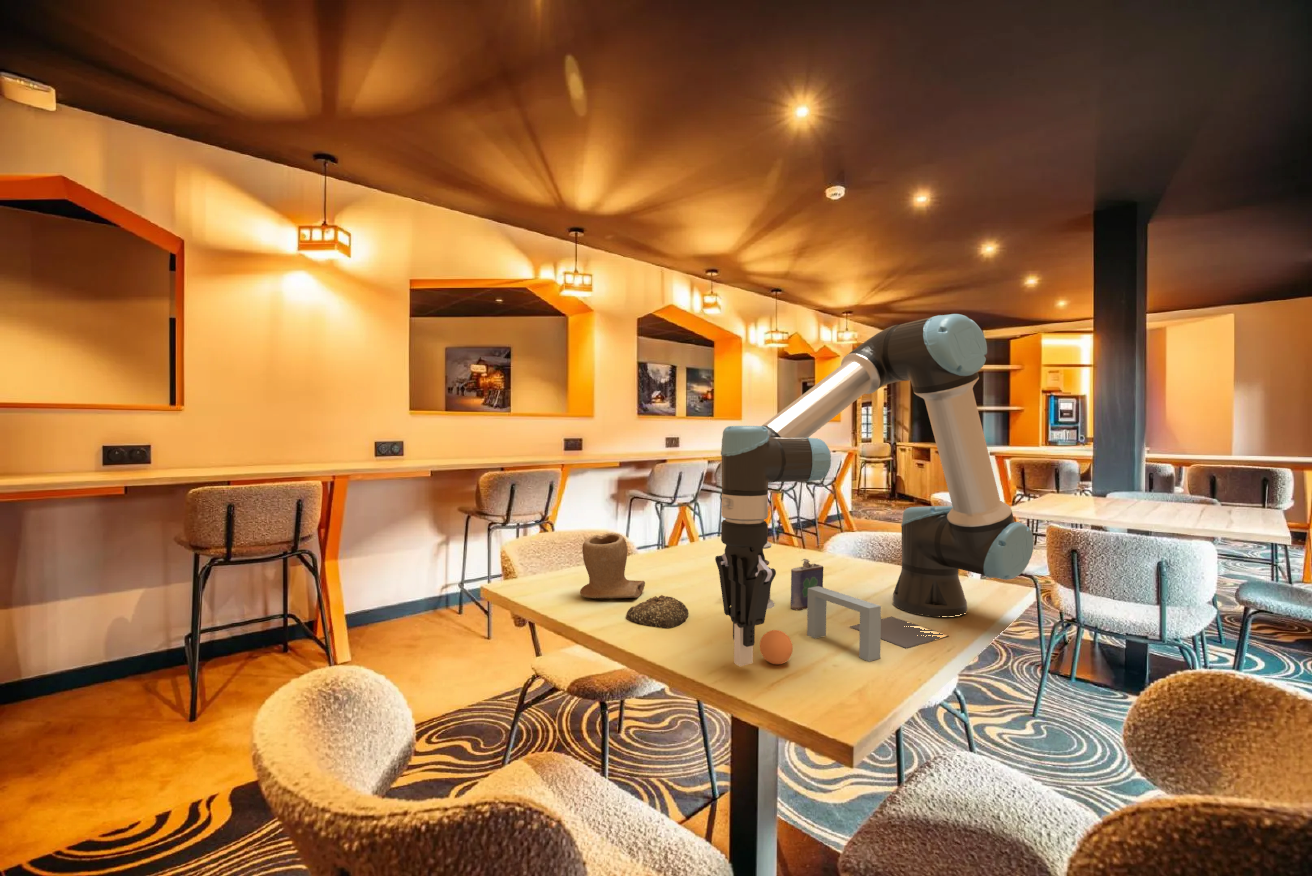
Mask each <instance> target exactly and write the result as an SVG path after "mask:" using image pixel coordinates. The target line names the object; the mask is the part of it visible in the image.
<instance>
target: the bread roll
mask: <svg viewBox="0 0 1312 876" xmlns="http://www.w3.org/2000/svg"><path fill="white" fill-rule="evenodd" d="M689 615H690V613H689V609H688V608H687V606H686V604H684V603H683V602H682V601H681V600H679V599H677V598H675V597H673V596H668V595H667V596H666V595H663V594H661V595H659V596H658V597H657V596H656V595H655V596H653V597H650V598H648V599H647V600H645V601H642V602H639V603H638V604H636V605H634V606H631V607H630V608H629V609H628V610H627V612H626V614H625V618H626V620H628V619H629V621H630V620H631V621H630V622H633V623H636V624H639V623H640V625H643V624H644V625H643V626H648V627H655V626H657V627H656V628H660V627H662V629H671V627H672V628H674V627H677V626H681V625H682V624H683V623H685V622H686V620H687V619H688V617H689Z"/></svg>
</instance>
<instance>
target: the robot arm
mask: <svg viewBox="0 0 1312 876" xmlns="http://www.w3.org/2000/svg"><path fill="white" fill-rule="evenodd" d="M987 354H988V345H987V340H986V338H985V335H984V332H983V330H982V329H981V327H980V326H979V325H978V324H977V323H976V322H975V321H974V320H973V319H971V318H969V317H968V316H967V315H963V314H960V313H951V314H949V313H948V314H944V315H943V314H942V315H941V314H938V315H935V316H931V317H927V318H922V319H917V320H914V321H909V322H905V323H899V324H895V325H891V326H889V327H887V328H884V329H883V330H881V331H879V332H878V333H876V334H875V335H873V336H871V337H870V338H868V339H867V340H865V341H864V342H863V343H861V344H859V346H857V347H856V348H855V349H852V351H850V352H849V353H848V354H846V355H845V356H844V357H843V358H842V360H841V363H840V366H838V367H837V368H836V369H835V370H833V371H832V372H831V373H829V374H828V375H827V376H825V377H824V378H823V379H821V380H820V381H819V382H818V383H816V384H814V386H812V387H811V388H809V389H808V390H806V392H804V393H803V394H801V395H800V396H799V397H798V398H797V399H795V400H794V401H792V402H791V403H790V404H788V405H787V406H786V407H784V408H783V409H781V410H780V411H779V412H778V413H777V414H775V415H774V416H772V417H771V418H770V419H769V420H767V421H766V422H764V424H762V425H729V426H726V427H725V428H724V429H723V430H722V437H721V438H722V439H721V448H720V449H721V450H720V455H721V517H722V518H724V519H722V521H721V523H720V525H721V526H720V540H721V542H722V544H724V545H725V547H724V553H723V554H722V555H717V556H716V555H715V559H714V560H715V564H716V565H717V570H718V574H719V582H720V583H719V584H720V589H721V597H722V605H723V613H724V615H725V616H729V617H730V621H731V622H732V640H733V641H734V642H733V647H734V648H733V663H734V664H735V665H736V666H739V667H745V666H747V665H750V664H754V661H753V660H754V645H755V643H756V642H755V635H756V634H755V633H756V632H755V631H756V629H755V628H756V626H759V625H764V624H765V622H766V621H765V620H766V615H767V610H768V609H767V605H768V599H769V594H770V595H771V589H772V588H771V586H772V583H773V581H774V579H775V577H776V575H777V572H776V571H777V570H776V569H775V568H772V567H771V568H770V567H769V566H768V565H766V564H765V563H764V562H765V560H766V557H765V554H764V549H763V547H764V545H766V544H767V541H768V542H769V540H768V535H769V534H768V533H769V532H768V531H769V530H768V528H769V527H768V526H769V524H768V522H767V521H766V520H767V519H768V517H769V483H772V484H773V483H784V482H785V483H787V482H789V483H791V482H793V483H794V482H795V483H796V482H804V483H809V482H814V481H821V480H822V479H824V478H825V477H826V476H827V475H828V473H829V471H830V469H831V465H832V463H831V461H832V459H831V457H832V455H831V450H830V448H829V446H828V444H827V443H826V442H825V441H824V440H822V439H820V438H815V437H811V436H813V435H814V434H815V433H816V432H817V431H818V430H820V429H821V428H822V427H824V426H825V425H826V424H828V423H829V422H830V421H832V420H833V419H834V418H835V417H837V416H838V415H839V414H840V413H841V412H843V411H844V410H846V409H847V408H848V407H849V406H851V405H852V404H853V403H854V402H855V401H857V400H858V399H859V398H860V397H862V396H863V395H866V394H867V395H869V394H870V395H871V394H874V393H875V392H876V391H878V390H879V389H880V388H881V387H884V386H886V385H890V384H893V383H898V382H903V381H904V382H906V381H908V382H909V381H910V382H911V387H912V390H913V391H912V392H913V393H914V394H915V395H916V396H917V397H919V398H921V399H923V400H924V403H925V406H926V411H927V414H928V418H929V422H930V425H931V430H932V433H933V436H934V441H935V444H936V449H937V453H938V455H939V461H940V464H941V467H942V471H943V475H944V476H943V477H944V480H945V483H946V487H947V491H948V494H949V498H950V503H951V505H931V506H930V505H929V506H910V507H907V508H906V509H904V510H903V513H902V520H901V521H902V522H901V525H900V526H901V569H900V570H901V571H900V575H899V576H898V580H897V582H896V584H895V587H894V590H893V594H892V604H893V605H894V606H895V607H896V608H898V609H900V610H902V611H904V610H905V612H907V613H911V614H914V615H919V614H923V615H922V616H924V615H929V616H928V617H931V616H940V617H939V618H943V617H942V616H955V615H960V614H964V613H966V611H967V612H968V602H967V599H966V597H965V593H964V590H963V587H962V583H961V580H960V576H959V570H962V571H965V572H970V573H973V574H978V575H981V576H985V577H986V578H990V579H993V578H994V579H999V580H1003V581H1004V580H1005V581H1008V580H1013V579H1015V578H1017V577H1018V576H1020V575H1021V574H1022V573H1023V572H1024V571H1025V570H1026V568H1027V567H1028V565H1029V563H1030V560H1031V559H1032V556H1033V552H1034V535H1033V531H1032V530H1031V528H1030V527H1029V526H1027V525H1026V524H1024V523H1023V522H1021V521H1020V522H1019V521H1015V518H1014V514H1013V510H1012V507H1011V506H1010V505H1009V504H1007V502H1004V501H1002V500H1001V499H1000V495H999V491H998V485H997V482H996V481H997V480H996V477H995V473H994V471H993V465H992V462H991V458H990V454H989V450H988V447H987V446H988V445H987V442H986V439H985V433H984V430H983V426H982V422H981V418H980V417H981V416H980V414H979V409H978V406H977V402H976V397H975V393H974V389H973V388H974V386H975V385H976V383H977V382H978V380H979V379H980V376H979V371H981V369H983V367H984V365H985V363H986V360H987V358H986V357H985V356H986V355H987ZM768 567H769V568H770V569H769V568H768ZM966 614H967V613H966Z"/></svg>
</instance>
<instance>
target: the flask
mask: <svg viewBox="0 0 1312 876" xmlns="http://www.w3.org/2000/svg"><path fill="white" fill-rule="evenodd" d="M801 562H803V563H802V566H798V567H793V568H791V570H790V571H791V572H790V574H791V575H790V576H791V578H790V581H791V582H790V609H792V610H794V611H797V610H798V611H801V610H802V611H803V610H806V609H807V607H808V588H811V587H817V586H820V587H823V588H824V583H823V582H824V566H823V565H821V564H817V563H810V562H811V561H810V560H809V559H807V558H803V559H801Z"/></svg>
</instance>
